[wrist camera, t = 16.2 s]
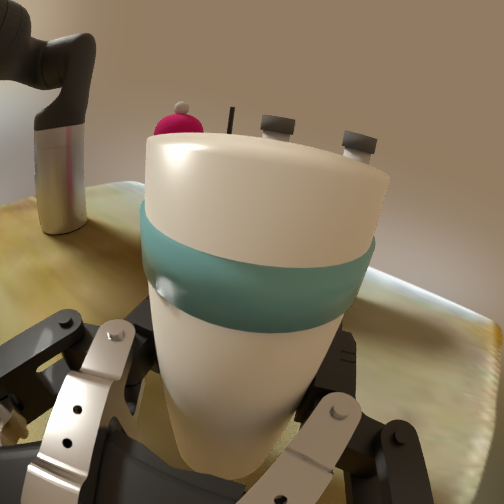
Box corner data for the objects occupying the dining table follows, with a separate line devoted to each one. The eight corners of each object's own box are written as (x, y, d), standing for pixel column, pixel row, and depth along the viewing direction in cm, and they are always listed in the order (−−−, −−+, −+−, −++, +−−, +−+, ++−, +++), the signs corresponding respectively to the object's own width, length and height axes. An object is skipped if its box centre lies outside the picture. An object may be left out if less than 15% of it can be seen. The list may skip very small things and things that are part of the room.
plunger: (249, 179, 26) (258, 113, 23) (258, 174, 28) (266, 115, 25) (281, 186, 25) (293, 119, 22) (287, 180, 28) (297, 120, 25)
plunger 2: (331, 197, 24) (345, 130, 21) (331, 190, 27) (344, 130, 24) (363, 206, 23) (379, 139, 20) (360, 198, 26) (374, 139, 23)
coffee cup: (158, 458, 10) (82, 144, 4) (197, 390, 15) (210, 130, 8) (255, 493, 9) (434, 210, 3) (280, 417, 14) (373, 162, 7)
